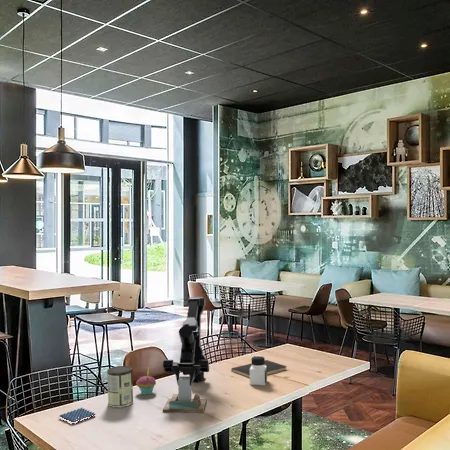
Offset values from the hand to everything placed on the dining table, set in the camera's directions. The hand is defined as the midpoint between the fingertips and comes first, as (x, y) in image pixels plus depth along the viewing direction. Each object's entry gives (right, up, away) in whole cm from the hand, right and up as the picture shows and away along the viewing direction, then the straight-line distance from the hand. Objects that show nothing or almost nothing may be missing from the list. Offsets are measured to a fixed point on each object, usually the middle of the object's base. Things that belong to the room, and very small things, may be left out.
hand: (184, 385), depth 193 cm
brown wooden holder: (0, -9, +1) cm, 9 cm away
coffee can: (-27, -10, +7) cm, 29 cm away
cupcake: (-18, -10, +19) cm, 28 cm away
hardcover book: (+33, -10, +49) cm, 60 cm away
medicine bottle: (+32, -9, +30) cm, 44 cm away
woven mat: (-40, -10, -8) cm, 43 cm away
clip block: (0, -7, +1) cm, 7 cm away
